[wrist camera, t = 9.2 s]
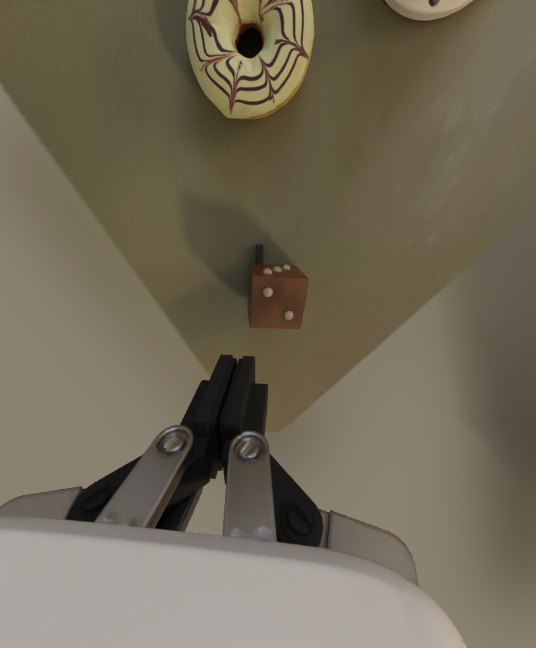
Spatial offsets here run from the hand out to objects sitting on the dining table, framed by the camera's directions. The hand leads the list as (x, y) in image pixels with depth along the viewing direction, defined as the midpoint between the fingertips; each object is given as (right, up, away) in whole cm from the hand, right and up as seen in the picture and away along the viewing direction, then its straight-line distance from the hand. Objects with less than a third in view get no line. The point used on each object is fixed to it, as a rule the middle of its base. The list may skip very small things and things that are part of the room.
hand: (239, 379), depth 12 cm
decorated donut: (0, +28, +10) cm, 30 cm away
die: (-1, +6, +16) cm, 17 cm away
